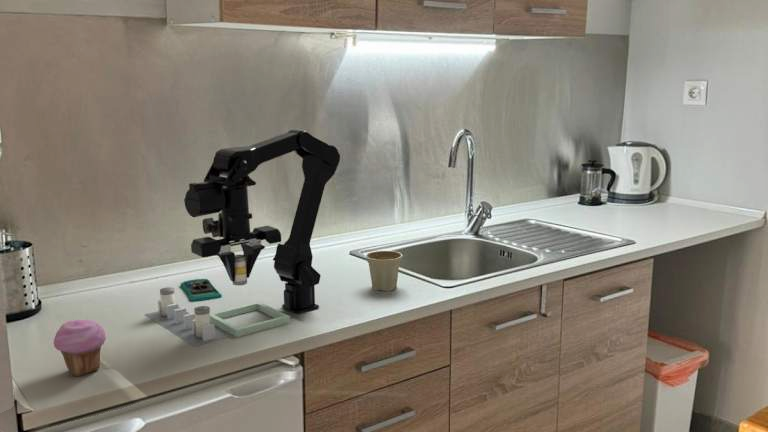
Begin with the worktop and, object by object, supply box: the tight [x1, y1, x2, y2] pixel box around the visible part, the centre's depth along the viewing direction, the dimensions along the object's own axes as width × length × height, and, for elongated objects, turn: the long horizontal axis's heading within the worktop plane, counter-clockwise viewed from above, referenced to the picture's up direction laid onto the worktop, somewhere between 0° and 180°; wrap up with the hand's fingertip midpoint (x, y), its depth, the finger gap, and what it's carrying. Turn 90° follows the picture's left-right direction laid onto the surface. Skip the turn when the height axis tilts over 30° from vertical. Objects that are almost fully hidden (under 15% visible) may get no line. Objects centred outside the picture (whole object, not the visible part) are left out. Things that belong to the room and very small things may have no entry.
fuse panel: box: [144, 299, 231, 347], centre depth 157 cm, size 8×25×4 cm, turn 40°
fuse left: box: [159, 286, 176, 317], centre depth 162 cm, size 3×3×6 cm
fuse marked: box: [232, 254, 248, 286], centre depth 156 cm, size 3×3×6 cm
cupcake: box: [53, 318, 107, 377], centre depth 136 cm, size 9×9×10 cm
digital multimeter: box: [180, 278, 223, 302], centre depth 180 cm, size 7×15×3 cm, turn 26°
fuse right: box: [193, 305, 211, 339], centre depth 150 cm, size 3×3×6 cm
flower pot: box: [365, 250, 403, 292], centre depth 185 cm, size 9×9×9 cm
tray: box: [210, 301, 291, 338], centre depth 159 cm, size 13×13×3 cm
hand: (239, 279), depth 157 cm, fingers closed on fuse marked, 3 cm apart
